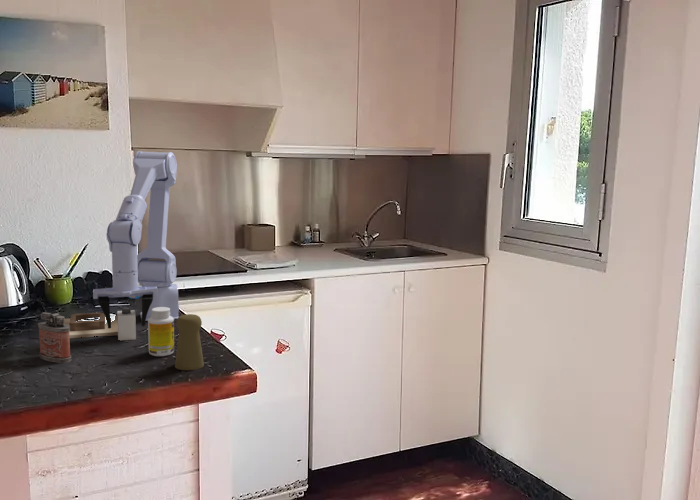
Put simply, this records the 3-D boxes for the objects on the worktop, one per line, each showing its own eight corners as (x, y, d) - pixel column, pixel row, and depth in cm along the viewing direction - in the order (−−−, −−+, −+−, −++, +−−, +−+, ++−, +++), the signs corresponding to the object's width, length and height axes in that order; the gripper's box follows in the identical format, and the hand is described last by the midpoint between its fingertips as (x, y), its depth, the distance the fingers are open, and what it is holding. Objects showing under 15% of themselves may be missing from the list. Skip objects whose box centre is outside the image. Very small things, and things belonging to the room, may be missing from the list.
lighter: (75, 359, 144) (73, 314, 142) (62, 363, 141) (60, 318, 139) (48, 353, 147) (46, 309, 146) (35, 357, 144) (33, 313, 143)
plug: (135, 333, 164) (134, 306, 163) (136, 339, 160) (135, 310, 159) (118, 334, 163) (117, 306, 162) (118, 340, 158) (117, 311, 157)
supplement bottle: (176, 355, 149) (176, 310, 147) (151, 358, 146) (150, 313, 144) (171, 348, 153) (171, 305, 152) (146, 351, 151) (145, 307, 149)
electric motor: (119, 299, 199) (118, 282, 198) (126, 295, 203) (126, 279, 202) (140, 300, 198) (140, 284, 197) (148, 297, 202) (147, 281, 201)
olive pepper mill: (200, 370, 139) (199, 319, 137) (171, 369, 139) (170, 318, 138) (206, 361, 145) (206, 312, 143) (179, 360, 145) (178, 311, 143)
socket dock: (117, 318, 177) (116, 308, 177) (118, 335, 163) (117, 324, 162) (59, 321, 173) (59, 311, 172) (55, 339, 158) (54, 327, 157)
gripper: (92, 275, 153) (93, 332, 155) (157, 272, 157) (158, 328, 160) (92, 269, 159) (94, 324, 161) (155, 267, 164) (156, 321, 166)
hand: (126, 326), depth 161 cm, fingers open, 7 cm apart
